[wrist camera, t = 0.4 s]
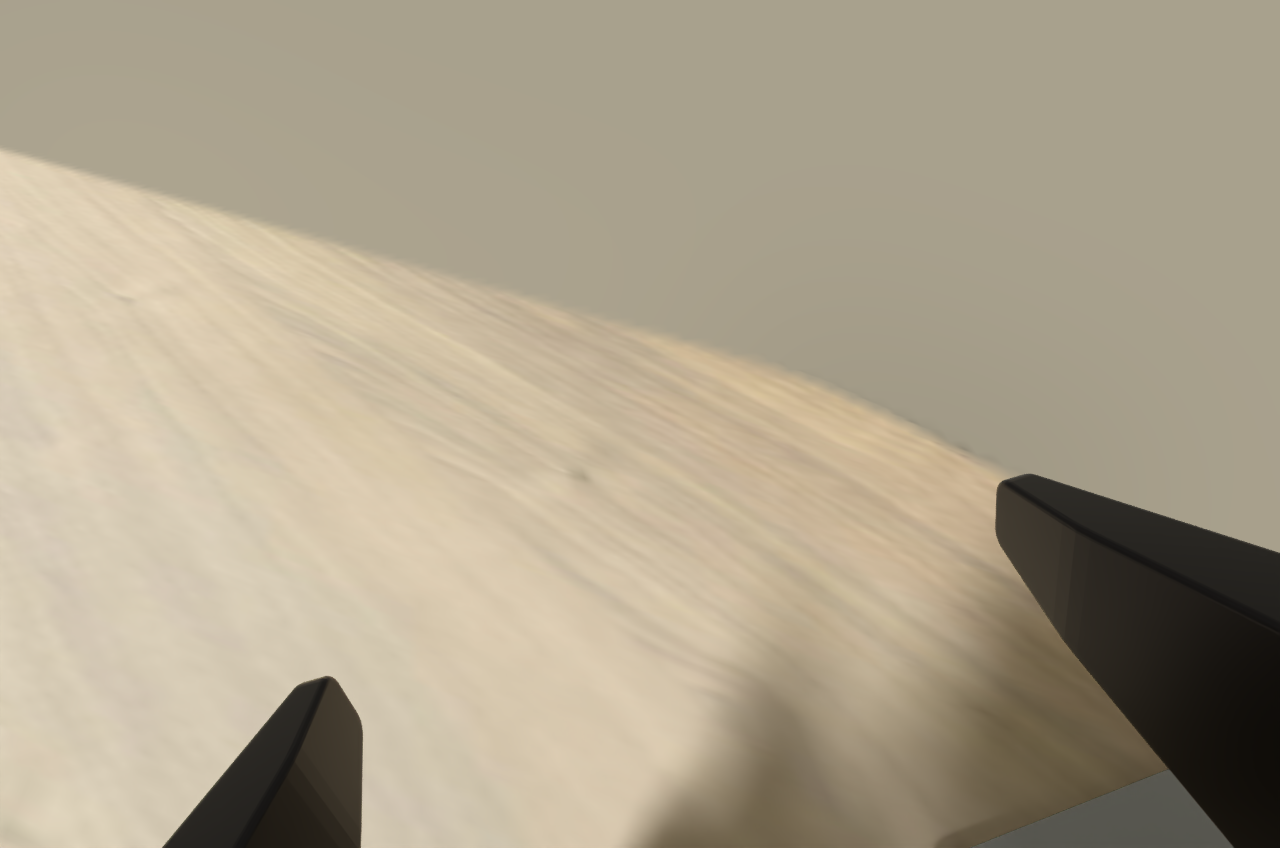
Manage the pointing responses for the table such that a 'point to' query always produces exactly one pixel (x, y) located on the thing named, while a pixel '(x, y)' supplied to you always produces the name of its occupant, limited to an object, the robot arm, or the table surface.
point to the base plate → (1124, 821)
